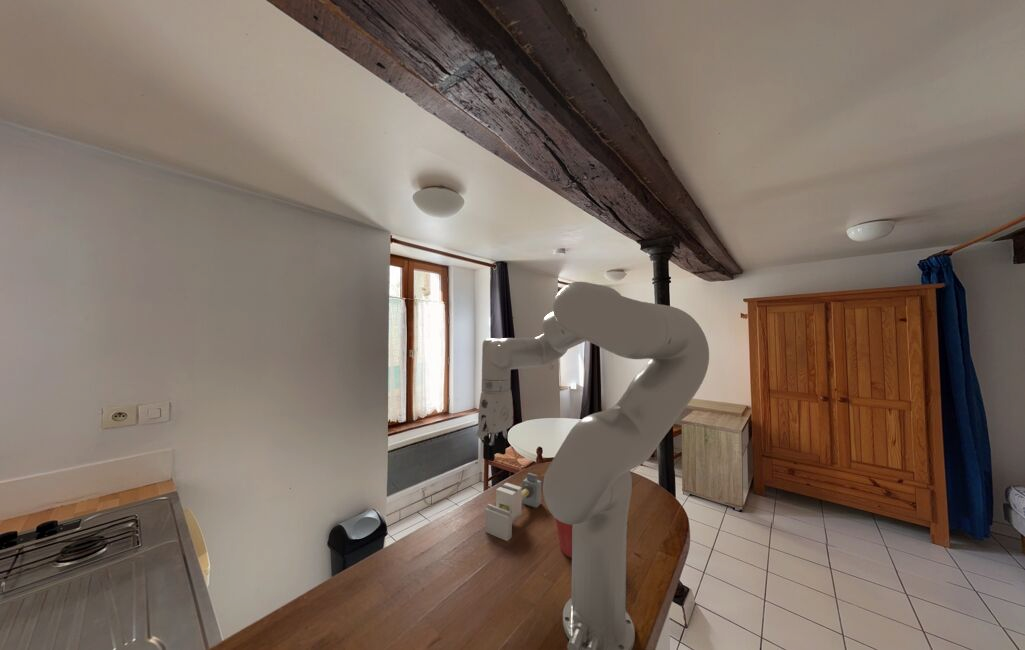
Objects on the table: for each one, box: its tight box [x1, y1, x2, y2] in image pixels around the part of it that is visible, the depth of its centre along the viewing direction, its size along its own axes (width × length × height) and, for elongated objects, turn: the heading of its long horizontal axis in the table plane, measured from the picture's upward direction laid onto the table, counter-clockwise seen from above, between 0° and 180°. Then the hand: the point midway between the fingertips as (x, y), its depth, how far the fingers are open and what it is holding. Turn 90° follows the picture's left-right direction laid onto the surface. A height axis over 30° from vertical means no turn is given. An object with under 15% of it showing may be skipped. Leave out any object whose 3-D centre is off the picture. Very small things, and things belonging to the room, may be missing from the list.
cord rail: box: [485, 472, 542, 542], centre depth 92 cm, size 21×7×9 cm, turn 148°
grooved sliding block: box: [495, 482, 523, 524], centre depth 88 cm, size 5×5×8 cm
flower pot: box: [554, 517, 573, 559], centre depth 79 cm, size 11×11×10 cm
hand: (494, 455), depth 82 cm, fingers open, 4 cm apart
